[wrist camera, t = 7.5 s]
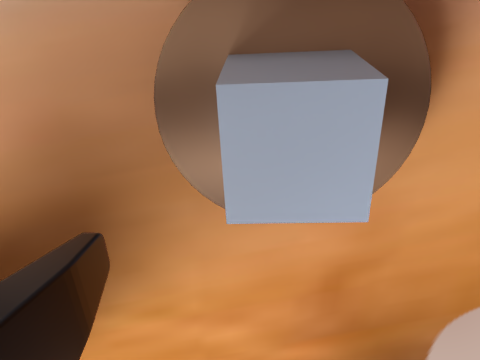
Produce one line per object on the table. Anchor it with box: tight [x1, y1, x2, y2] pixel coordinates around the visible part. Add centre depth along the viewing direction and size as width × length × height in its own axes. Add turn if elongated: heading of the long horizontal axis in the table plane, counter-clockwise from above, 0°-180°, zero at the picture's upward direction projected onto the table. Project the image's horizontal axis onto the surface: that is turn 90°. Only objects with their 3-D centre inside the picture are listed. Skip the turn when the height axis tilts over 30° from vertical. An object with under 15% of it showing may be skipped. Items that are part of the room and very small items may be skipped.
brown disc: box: [154, 0, 431, 208], centre depth 17 cm, size 12×12×2 cm
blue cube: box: [216, 50, 388, 224], centre depth 14 cm, size 5×5×5 cm
